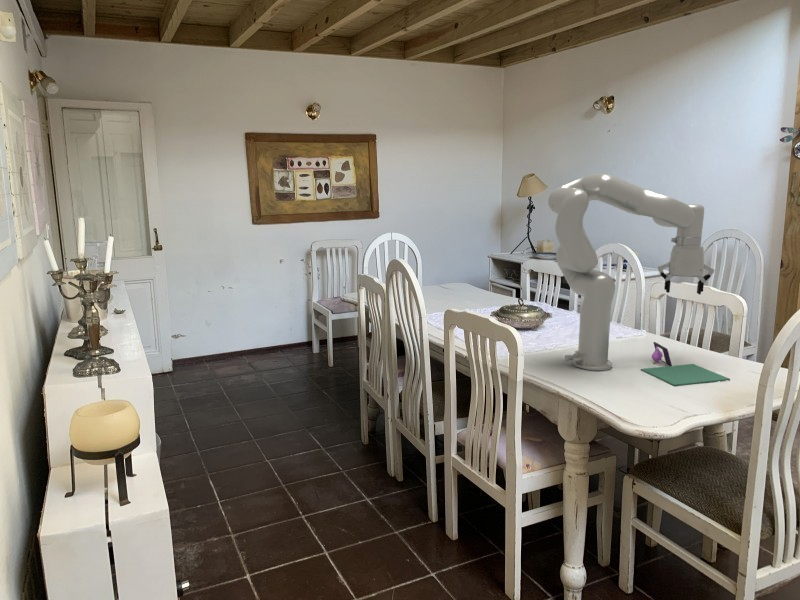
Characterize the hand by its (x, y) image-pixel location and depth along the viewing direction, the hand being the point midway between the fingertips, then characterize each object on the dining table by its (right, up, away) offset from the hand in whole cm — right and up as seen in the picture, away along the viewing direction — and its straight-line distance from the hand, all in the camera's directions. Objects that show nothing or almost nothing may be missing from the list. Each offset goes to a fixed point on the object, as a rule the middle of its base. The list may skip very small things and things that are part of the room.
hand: (683, 292), depth 202 cm
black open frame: (-8, -24, 0) cm, 25 cm away
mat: (-6, -26, -12) cm, 29 cm away
